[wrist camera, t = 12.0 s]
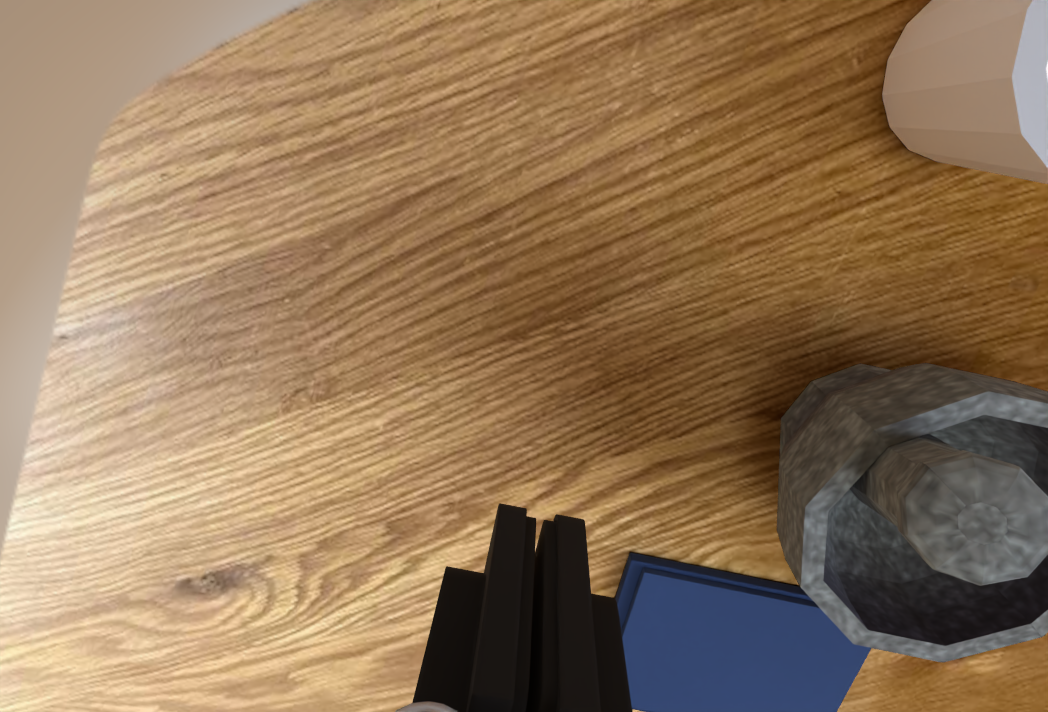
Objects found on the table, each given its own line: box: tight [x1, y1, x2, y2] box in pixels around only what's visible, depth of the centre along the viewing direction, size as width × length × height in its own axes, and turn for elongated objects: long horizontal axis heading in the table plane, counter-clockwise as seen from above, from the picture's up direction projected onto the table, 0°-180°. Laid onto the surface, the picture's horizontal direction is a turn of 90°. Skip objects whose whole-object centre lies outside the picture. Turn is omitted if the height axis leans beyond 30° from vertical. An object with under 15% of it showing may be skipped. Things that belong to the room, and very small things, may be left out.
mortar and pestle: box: [777, 363, 1048, 662], centre depth 18 cm, size 11×9×12 cm
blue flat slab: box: [615, 553, 871, 712], centre depth 28 cm, size 12×9×1 cm
